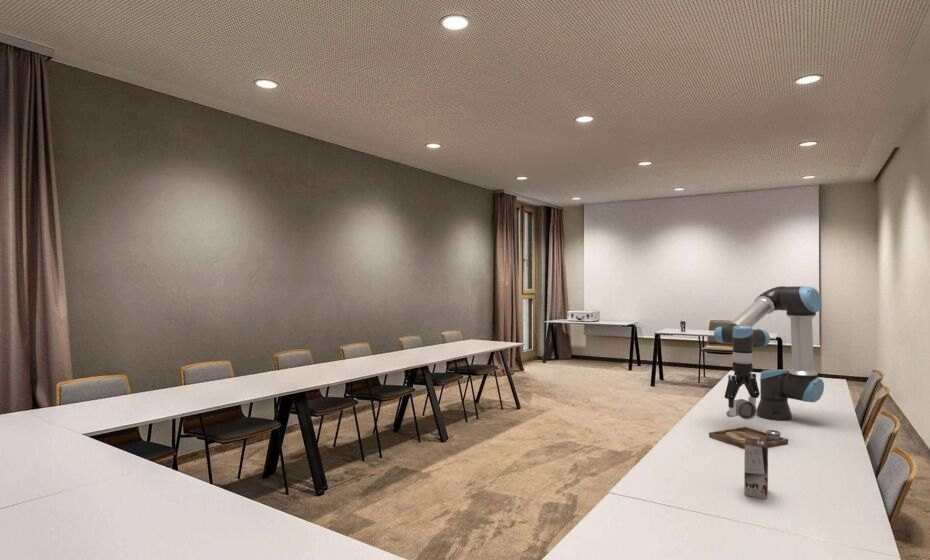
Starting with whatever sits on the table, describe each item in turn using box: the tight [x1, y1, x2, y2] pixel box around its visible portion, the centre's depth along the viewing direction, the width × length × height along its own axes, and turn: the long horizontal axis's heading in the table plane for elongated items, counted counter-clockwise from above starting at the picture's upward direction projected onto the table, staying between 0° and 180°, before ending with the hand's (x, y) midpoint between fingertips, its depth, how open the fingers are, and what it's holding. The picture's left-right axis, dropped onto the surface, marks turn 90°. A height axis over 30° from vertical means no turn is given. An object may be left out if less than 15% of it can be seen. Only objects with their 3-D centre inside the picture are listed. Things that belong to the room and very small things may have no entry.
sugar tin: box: [765, 429, 781, 442], centre depth 218 cm, size 5×5×5 cm
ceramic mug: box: [725, 398, 757, 420], centre depth 224 cm, size 11×8×8 cm
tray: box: [708, 426, 789, 450], centre depth 221 cm, size 22×20×2 cm
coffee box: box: [743, 438, 769, 500], centre depth 168 cm, size 9×6×16 cm
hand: (742, 413), depth 224 cm, fingers closed on ceramic mug, 11 cm apart
